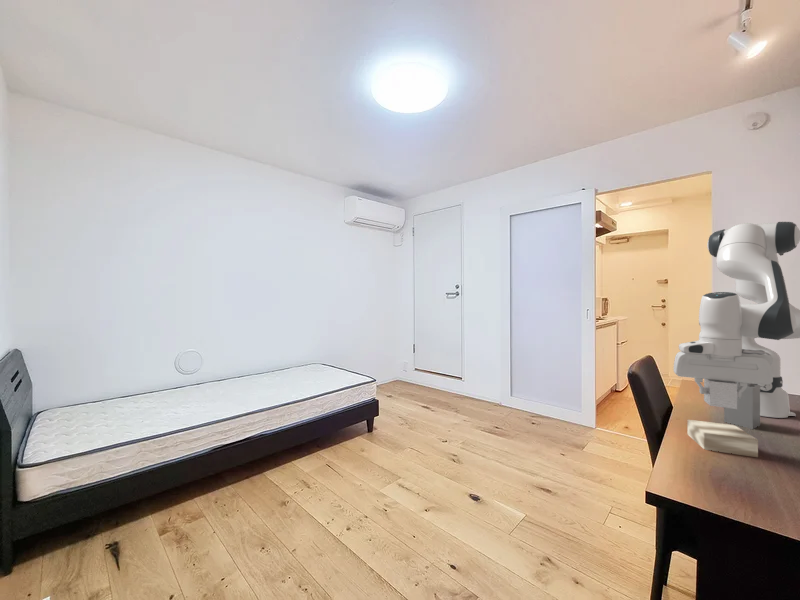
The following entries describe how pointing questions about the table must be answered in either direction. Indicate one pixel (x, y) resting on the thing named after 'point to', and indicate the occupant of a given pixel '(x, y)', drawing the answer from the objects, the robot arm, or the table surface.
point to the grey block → (721, 393)
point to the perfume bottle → (745, 408)
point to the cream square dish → (722, 438)
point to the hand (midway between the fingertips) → (719, 395)
